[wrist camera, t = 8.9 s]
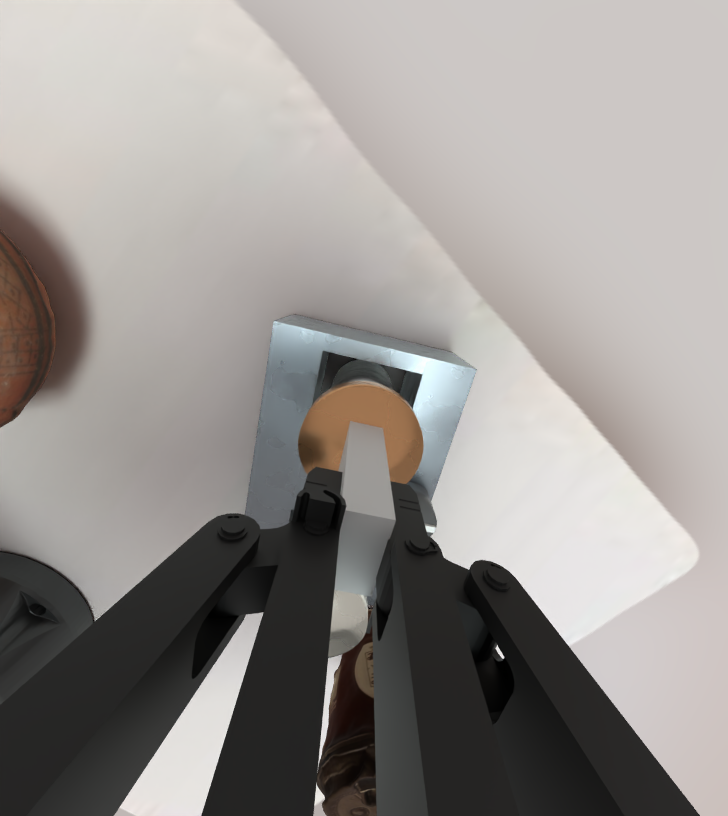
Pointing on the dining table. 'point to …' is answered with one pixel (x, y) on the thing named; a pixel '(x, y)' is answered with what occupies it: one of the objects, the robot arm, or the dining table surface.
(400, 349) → the mount
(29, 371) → the bowl
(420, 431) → the orange light bulb
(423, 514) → the knob
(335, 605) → the white light bulb
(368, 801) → the coffee cup
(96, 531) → the dining table surface
